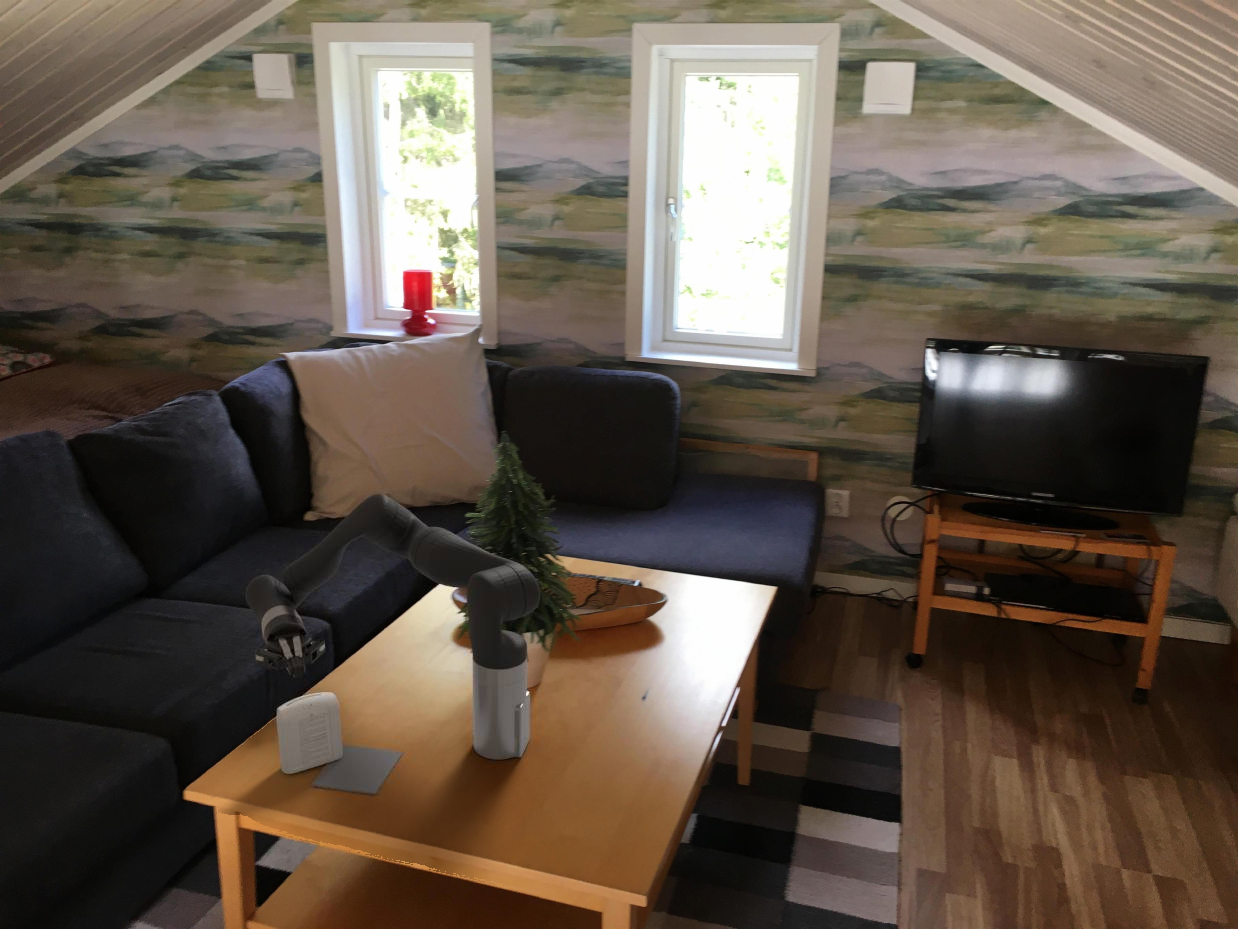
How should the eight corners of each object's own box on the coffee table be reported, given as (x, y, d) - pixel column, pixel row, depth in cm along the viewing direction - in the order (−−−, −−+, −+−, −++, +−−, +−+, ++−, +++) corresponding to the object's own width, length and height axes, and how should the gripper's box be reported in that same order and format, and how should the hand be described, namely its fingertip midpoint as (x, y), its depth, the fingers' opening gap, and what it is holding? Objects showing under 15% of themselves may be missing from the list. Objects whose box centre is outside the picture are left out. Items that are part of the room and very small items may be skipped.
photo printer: (338, 747, 176) (332, 682, 173) (347, 758, 173) (340, 693, 169) (278, 766, 171) (270, 700, 167) (285, 778, 168) (278, 711, 164)
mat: (402, 753, 176) (402, 752, 176) (375, 795, 164) (375, 793, 164) (342, 745, 177) (342, 744, 177) (311, 786, 166) (311, 784, 166)
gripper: (246, 619, 193) (257, 660, 178) (318, 608, 199) (335, 646, 184) (248, 655, 195) (260, 698, 180) (320, 643, 201) (337, 684, 186)
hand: (298, 672), depth 182 cm, fingers closed
